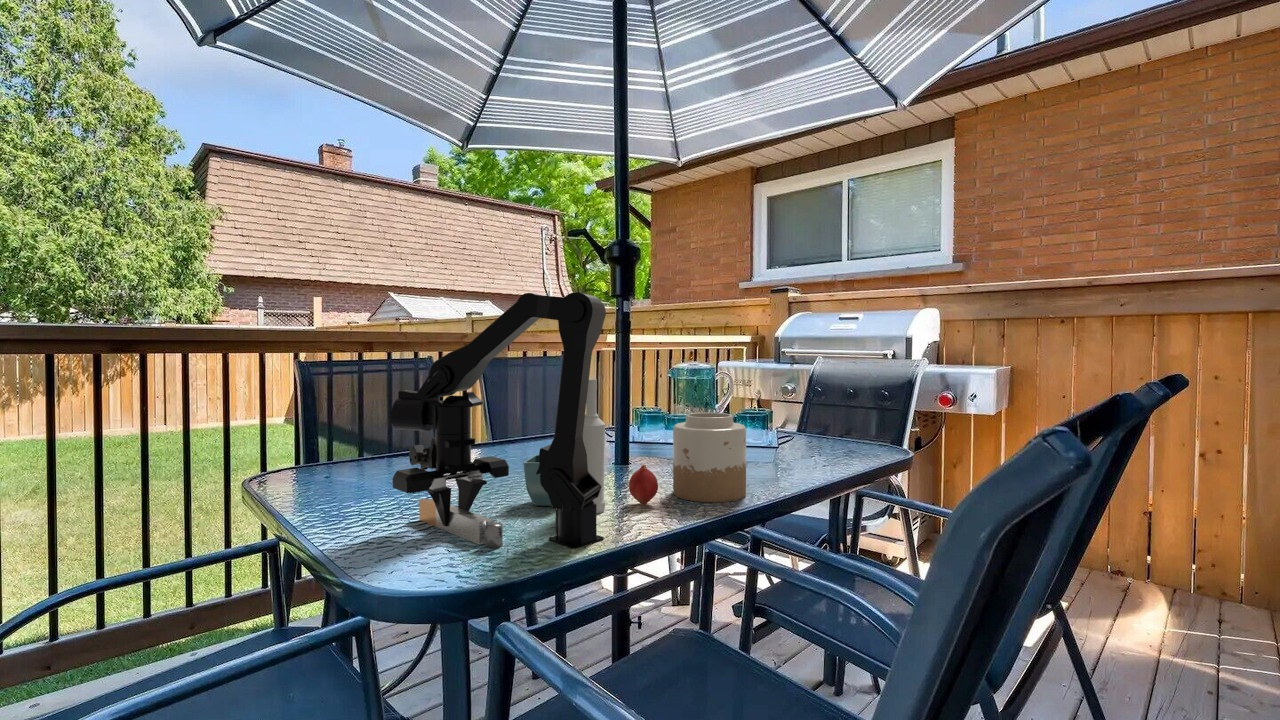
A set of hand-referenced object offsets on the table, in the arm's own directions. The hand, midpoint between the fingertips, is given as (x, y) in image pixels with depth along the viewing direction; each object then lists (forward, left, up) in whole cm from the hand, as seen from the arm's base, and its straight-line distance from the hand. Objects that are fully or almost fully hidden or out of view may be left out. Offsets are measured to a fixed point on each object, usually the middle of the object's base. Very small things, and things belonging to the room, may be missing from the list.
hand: (453, 523), depth 105 cm
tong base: (-2, 0, -1) cm, 2 cm away
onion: (-11, -35, -1) cm, 37 cm away
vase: (-15, -51, -2) cm, 53 cm away
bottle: (-7, -25, -1) cm, 26 cm away
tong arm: (0, +1, -1) cm, 1 cm away
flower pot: (+3, -23, -2) cm, 23 cm away
